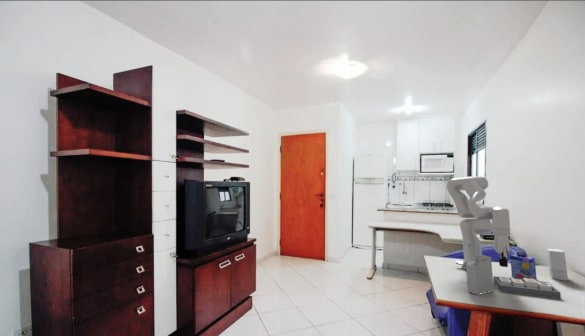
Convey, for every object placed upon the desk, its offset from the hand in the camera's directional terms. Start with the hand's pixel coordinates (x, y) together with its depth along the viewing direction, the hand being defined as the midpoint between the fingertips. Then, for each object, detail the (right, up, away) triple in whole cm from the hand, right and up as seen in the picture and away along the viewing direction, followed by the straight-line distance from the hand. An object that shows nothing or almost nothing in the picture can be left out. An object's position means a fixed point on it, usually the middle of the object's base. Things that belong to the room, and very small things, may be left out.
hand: (503, 266), depth 139 cm
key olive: (+9, -8, -6) cm, 14 cm away
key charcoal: (+14, -9, -8) cm, 18 cm away
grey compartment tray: (+7, -10, -4) cm, 13 cm away
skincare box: (+39, -11, +10) cm, 41 cm away
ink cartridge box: (+21, -11, +11) cm, 26 cm away
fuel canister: (-17, -11, -6) cm, 21 cm away
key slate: (0, -10, -1) cm, 10 cm away
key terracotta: (+5, -10, -3) cm, 11 cm away
